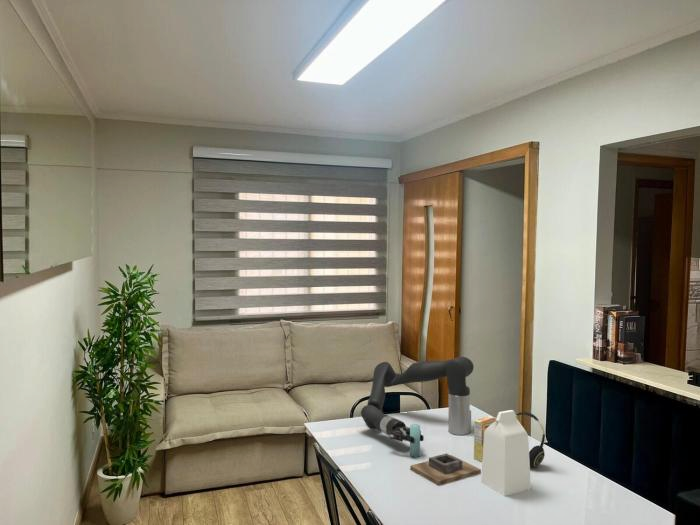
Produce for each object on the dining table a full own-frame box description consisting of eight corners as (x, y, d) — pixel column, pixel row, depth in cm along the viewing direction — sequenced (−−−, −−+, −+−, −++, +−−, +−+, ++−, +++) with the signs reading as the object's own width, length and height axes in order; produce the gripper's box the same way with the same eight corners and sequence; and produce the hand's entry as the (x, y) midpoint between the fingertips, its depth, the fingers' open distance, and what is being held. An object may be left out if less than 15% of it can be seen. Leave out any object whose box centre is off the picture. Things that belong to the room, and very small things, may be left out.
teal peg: (415, 452, 223) (416, 423, 223) (422, 456, 220) (422, 426, 220) (407, 454, 221) (408, 425, 221) (414, 458, 218) (414, 427, 217)
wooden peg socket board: (451, 458, 217) (451, 447, 217) (480, 473, 204) (480, 461, 204) (410, 469, 207) (410, 457, 207) (438, 485, 193) (438, 472, 193)
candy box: (487, 453, 223) (487, 415, 222) (496, 456, 220) (496, 418, 219) (473, 459, 217) (473, 420, 217) (482, 462, 214) (482, 422, 213)
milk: (504, 495, 186) (505, 418, 185) (481, 482, 196) (481, 409, 195) (530, 488, 191) (531, 413, 190) (507, 476, 201) (507, 404, 200)
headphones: (516, 456, 220) (517, 406, 220) (550, 467, 209) (551, 415, 208) (503, 461, 215) (504, 410, 214) (537, 473, 204) (538, 419, 203)
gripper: (406, 433, 237) (432, 445, 222) (378, 439, 230) (403, 452, 215) (406, 415, 237) (432, 427, 222) (378, 421, 230) (403, 433, 215)
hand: (418, 439), depth 219 cm, fingers closed on teal peg, 4 cm apart
